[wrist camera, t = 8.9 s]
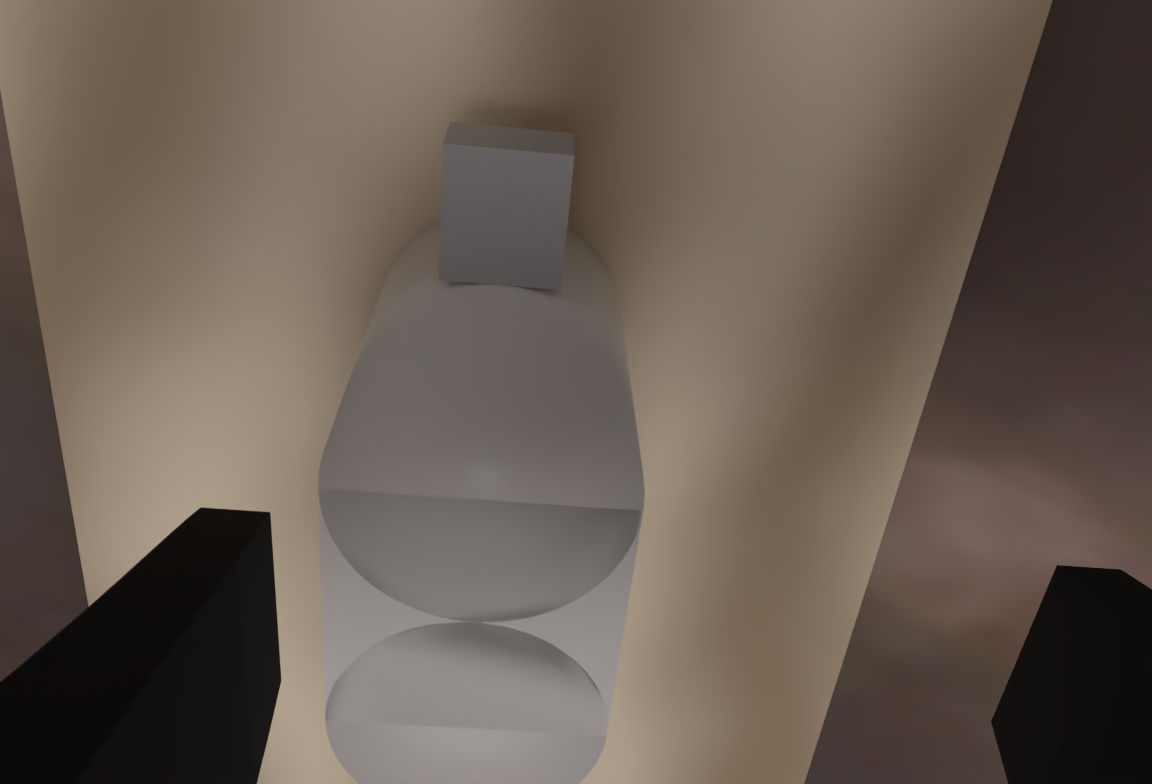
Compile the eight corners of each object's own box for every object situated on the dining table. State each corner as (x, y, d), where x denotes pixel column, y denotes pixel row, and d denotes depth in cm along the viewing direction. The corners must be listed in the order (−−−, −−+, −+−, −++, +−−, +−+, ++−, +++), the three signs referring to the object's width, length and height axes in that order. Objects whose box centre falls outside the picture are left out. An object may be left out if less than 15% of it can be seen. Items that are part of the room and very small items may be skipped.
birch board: (1048, -111, 15) (1085, -105, 14) (783, 773, 24) (793, 816, 23) (-11, -237, 14) (-57, -242, 13) (137, 737, 23) (118, 780, 22)
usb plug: (650, 103, 15) (690, 221, 11) (583, 606, 20) (591, 826, 16) (379, 77, 15) (309, 188, 11) (377, 593, 20) (327, 813, 15)
